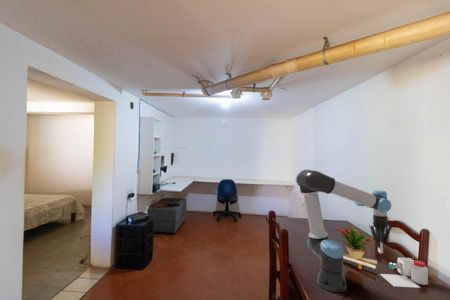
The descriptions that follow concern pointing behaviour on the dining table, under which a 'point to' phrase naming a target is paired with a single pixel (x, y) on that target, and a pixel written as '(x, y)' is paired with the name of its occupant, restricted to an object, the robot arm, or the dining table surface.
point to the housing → (405, 266)
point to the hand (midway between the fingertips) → (380, 252)
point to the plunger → (395, 265)
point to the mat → (399, 281)
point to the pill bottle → (419, 273)
